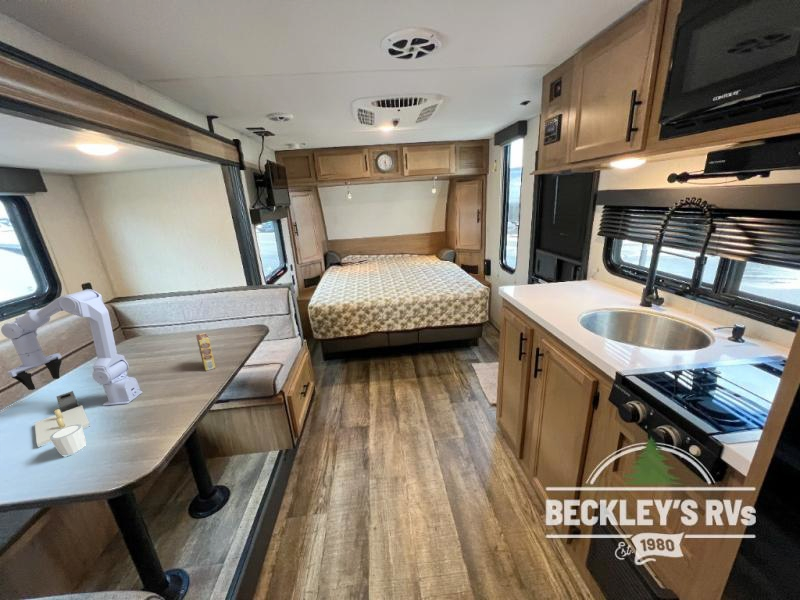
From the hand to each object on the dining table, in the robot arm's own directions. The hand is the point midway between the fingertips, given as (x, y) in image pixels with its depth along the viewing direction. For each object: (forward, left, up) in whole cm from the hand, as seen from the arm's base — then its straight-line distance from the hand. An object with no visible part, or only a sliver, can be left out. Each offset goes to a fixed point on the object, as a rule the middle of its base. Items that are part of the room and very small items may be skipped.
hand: (44, 383), depth 118 cm
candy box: (-47, -24, -10) cm, 54 cm away
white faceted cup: (-33, +27, -10) cm, 44 cm away
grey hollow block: (-8, +2, -10) cm, 13 cm away
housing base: (-17, +14, -10) cm, 24 cm away
